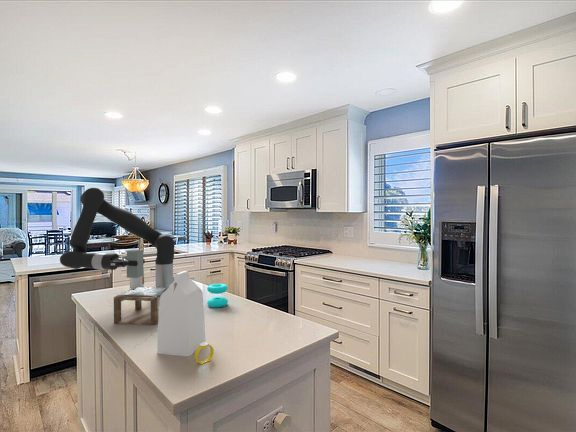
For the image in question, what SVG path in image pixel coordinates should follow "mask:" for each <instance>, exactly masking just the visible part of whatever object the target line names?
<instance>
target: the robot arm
mask: <svg viewBox="0 0 576 432" xmlns="http://www.w3.org/2000/svg"><path fill="white" fill-rule="evenodd" d="M79 200H80V202H81V204H82V210H81V212H80V215H79V218H78V220H77V221H76V224H75V226H74V228H73V231H72V233H71V237H70V240H69V246H70V247H71V248H72V251H71V250H70V251H69V250H68V251H65V252H63V253H62V254H61V255H60V258H59V262H60V264H61V265H62V266H63V267H66V268H70V269H74V270H79V269H81V268H85V269H92V270H93V269H94V270H95V269H96V270H106V271H109V270H110V271H115V270H117V269H118V268H126V267H127V266H137V265H138V261H128V260H127V256H121V257H120V255H119V254H118V253H115V252H112V253H111V252H110V253H109V252H99V253H95V252H94V253H93V252H92V253H91V252H89V253H88V252H87V245H88V242H89V240H90V236H91V232H92V229H93V225H94V222H95V218H96V216H97V214H99V215H101V216H102V217H105V218H106V219H108V220H109V221H110V222H112V223H114V224H116V225H117V226H118V227H120V228H122V229H123V230H125V231H126V232H129V234H132V235H134V236H136V237H139V238H141V239H143V240H145V241H146V242H147V243H149V244H150V245H152V246H153V247H155V249H156V258H155V288H169V286H170V285H171V284H172V283H173V282H174V279H175V276H174V258H175V240H174V239H173V237H172V236H170V235H168V234H164V233H161V232H159V231H158V230H156V229H154V228H152V227H151V226H150V225H149V224H147V222H146V221H144V219H142V218H141V217H140V216H138V215H136V214H135V213H133V212H131V211H129V210H126V209H125V208H121V207H119V206H116V205H113V204H112V203H110V202H108V201H107V200H105V195H104V192H103V191H102V190H101V189H100V188H98V187H90V188H88V189H86V190H85V191H84V192H83V193H82V194H81V195H80V199H79ZM145 263H146V262H145V258H143V265H144V264H145ZM163 293H164V292H163ZM163 293H161V294H159V295H157V296H156V297H158V296H159V297H160V296H161V295H162V294H163Z"/></svg>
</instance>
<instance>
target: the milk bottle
mask: <svg viewBox="0 0 576 432" xmlns="http://www.w3.org/2000/svg"><path fill="white" fill-rule="evenodd" d="M136 287H145V269H144V266H143V276H141V277H138V278H129V289H130V288H131V289H130V290H133V289H135V288H136Z"/></svg>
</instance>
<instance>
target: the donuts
mask: <svg viewBox="0 0 576 432" xmlns="http://www.w3.org/2000/svg"><path fill="white" fill-rule="evenodd" d="M206 289H207V292H209V293H210V294H215V295H219V294H220V295H221V294H223V293H225V292H227V291H228V289H229V287H228V285H227V284H225V283H212V284H209V285H208V286H207V288H206ZM228 303H229V299H227V298H226V297H224V296H213V297H211V298H209V299H208V300H207V303H206V304H207V306H208V307H210V308H222V307H225V306H227V305H228Z"/></svg>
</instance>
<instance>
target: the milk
mask: <svg viewBox="0 0 576 432" xmlns="http://www.w3.org/2000/svg"><path fill="white" fill-rule="evenodd" d="M174 275H175V276H174V282H173V283H172V284H171V285H170V286H169V288H168V289H167V290H166V291H165V292H164V293H163V294H162V295H161V296H159V298H158V300H159V302H158V309H159V319H158V323H157V341H156V343H157V345H156V348H157V349H156V354H159V355H168V356H177V357H187V356H189V357H190V356H192V355H193V354H194V353H195V352H196V350H197V348H198V347H199V346H200V343H202V342H207V341H206V340H207V339H206V330H205V327H206V325H205V309H204V293H203V291H202V289H201V288H200V286H198V285H197V283H196V282H194V281H193V279H191V278H190V274H189V270H183V271H181V272H177V273H175V274H174ZM194 351H195V352H194ZM193 352H194V353H193ZM192 353H193V354H192Z"/></svg>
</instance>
